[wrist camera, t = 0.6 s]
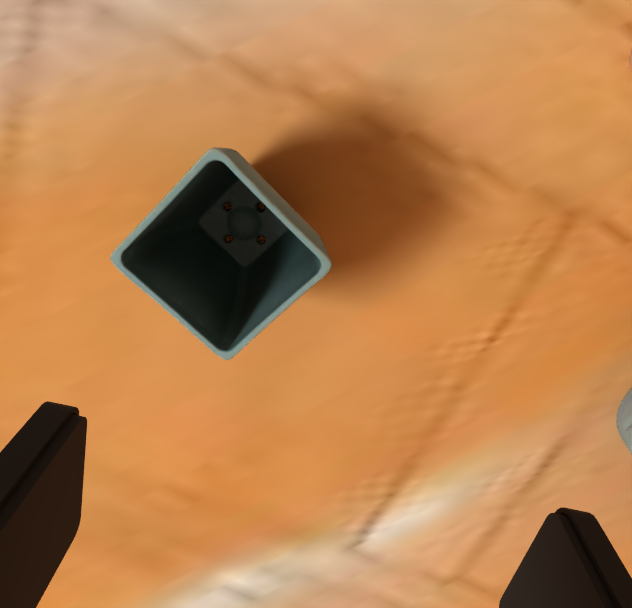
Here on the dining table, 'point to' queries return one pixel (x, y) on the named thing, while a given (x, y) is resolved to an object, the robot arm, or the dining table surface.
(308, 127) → the dining table surface
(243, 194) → the flower pot
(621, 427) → the grey teal cup
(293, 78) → the dining table surface
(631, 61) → the dowel
